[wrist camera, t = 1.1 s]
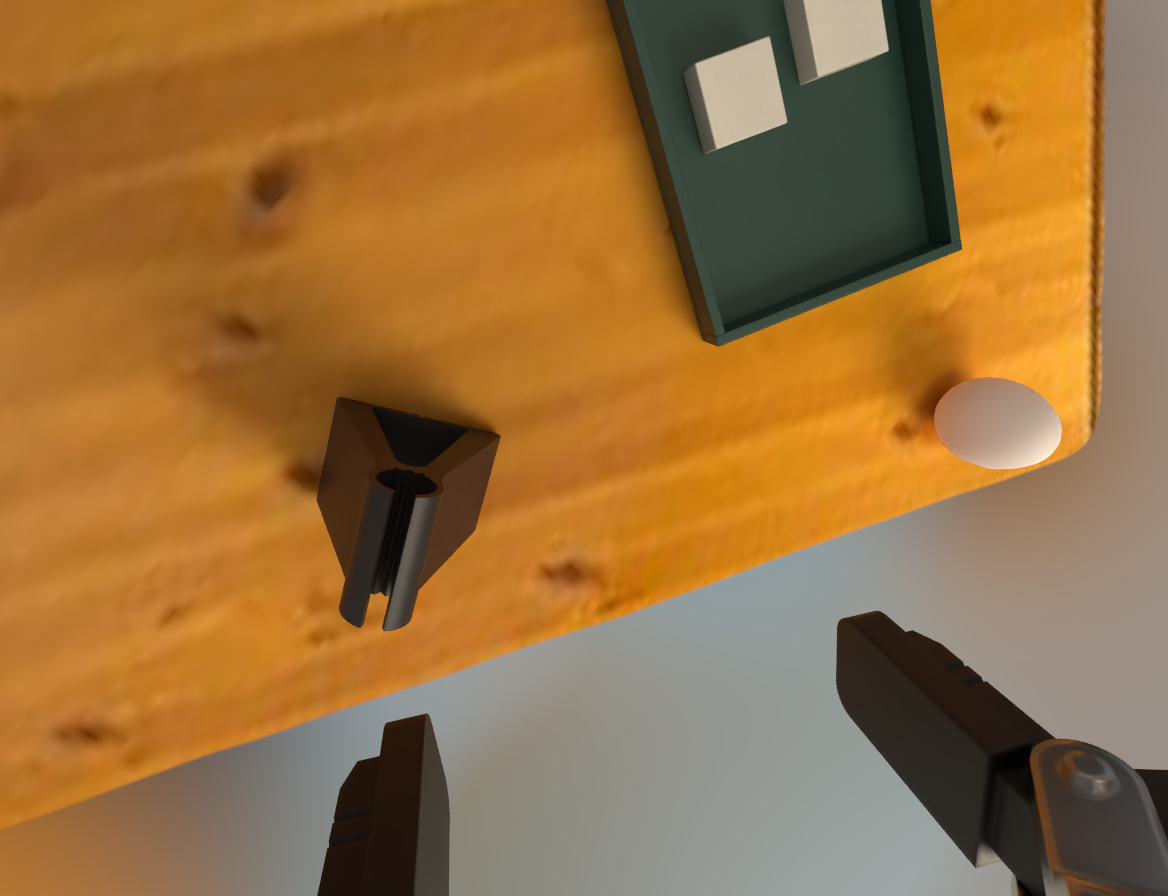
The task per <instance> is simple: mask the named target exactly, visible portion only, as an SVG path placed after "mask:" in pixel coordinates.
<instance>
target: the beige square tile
mask: <svg viewBox="0 0 1168 896" xmlns="http://www.w3.org/2000/svg"><path fill="white" fill-rule="evenodd" d="M683 75H684V79H685V83H686V87H687V91H688V95H689V98H690V102H691V106H692V110H693V114H694V118H695V122H696V126H697V130H698V134H699V137H700V141H701V145H702V149H703V153H704V154H706V153H709V152H712V151H714V150H717V149H720V148H722V147H725V146H728V145H730V144H733V143H736V142H738V141H741V140H743V139H746V138H749V137H751V136H754V135H757V134H759V133H762V132H765V131H767V130H770V129H773V128H775V127H778V126H780V125H783V124H786V123H787V117H786V113H785V108H784V103H783V98H782V93H781V89H780V84H779V79H778V74H777V69H776V65H775V60H774V55H773V50H772V45H771V41H770V37H769V36H767V37H765V38H762V39H759V40H756V41H754V42H751V43H748V44H745V45H743V46H740V47H737V48H735V49H732V50H729V51H726V52H724V53H721V54H718V55H715V56H713V57H710V58H707V59H705V60H702V61H699V62H696V63H695V64H693V65H692V66H691V67H690V68H688V69H687V70H686V71H685V72H684V73H683Z"/></svg>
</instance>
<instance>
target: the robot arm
mask: <svg viewBox="0 0 1168 896" xmlns="http://www.w3.org/2000/svg"><path fill="white" fill-rule="evenodd" d="M836 669H837V670H836V684H837V690H838V694H839V697H840V700H841V702H842V704H843V707H844V709H845V710H846V712H847V713H848V715H849V716H850V717H851V719H852V720H853V721H854V722H855V723H856V725H857V726H858V727H859V728H860V730H861V731H862V732H863V733H864V734H865V736H866V737H867V738H868V739H869V740H870V741H871V743H872V744H873V745H874V746H875V748H876V749H877V750H878V751H879V752H880V754H881V755H882V756H883V757H884V758H885V760H886V761H887V762H888V763H889V764H890V766H891V767H892V768H893V769H894V770H895V772H896V773H897V774H898V775H899V776H900V778H901V779H902V780H903V781H904V783H905V784H906V785H907V786H908V787H909V788H910V790H911V791H912V792H913V793H914V794H915V796H916V797H917V798H918V799H919V800H920V802H921V803H922V804H923V805H924V807H925V808H926V809H927V810H928V811H929V812H930V814H931V815H932V816H933V817H934V819H935V820H936V821H937V822H938V823H939V825H940V826H941V827H942V828H943V830H945V832H946V833H947V834H948V835H949V837H950V838H951V839H952V840H953V842H954V843H955V844H956V845H957V846H958V848H959V849H960V850H961V851H962V852H963V853H964V855H965V856H966V857H967V858H968V860H969V861H970V862H971V863H972V864H973V866H974V867H975V868H978V867H982V866H985V865H988V864H991V863H995V862H998V861H1001V860H1002V861H1003V862H1004V863H1005V865H1006V866H1007V867H1008V868H1009V869H1010V870H1011V871H1012V872H1013V874H1012V881H1011V890H1012V896H1168V770H1148V769H1147V770H1146V769H1145V770H1144V769H1133V768H1132V767H1130V766H1129V765H1128V764H1127V763H1126V762H1124V761H1123V760H1121V759H1120V758H1118V757H1117V756H1115V755H1113V754H1112V753H1109V752H1108V751H1106V750H1103V749H1101V748H1099V747H1097V746H1094V745H1091V744H1088V743H1085V742H1081V741H1076V740H1070V739H1056V738H1054V737H1053V736H1052V735H1051V734H1049V733H1048V732H1047V731H1046V730H1044V729H1043V728H1042V727H1041V726H1040V725H1039V724H1037V723H1036V722H1035V721H1034V720H1032V719H1031V718H1030V717H1029V716H1028V715H1026V714H1025V713H1024V712H1023V711H1022V710H1020V709H1019V708H1018V707H1017V706H1015V705H1014V704H1013V703H1012V702H1011V701H1010V700H1008V699H1007V698H1006V697H1005V696H1003V695H1002V694H1001V693H1000V692H999V691H997V690H996V689H995V688H994V687H993V686H991V685H990V684H989V683H988V682H986V681H985V682H983V680H982V678H981V676H979V675H978V674H977V673H976V672H974V671H973V670H972V669H971V668H970V667H969V666H964V664H963V662H962V661H961V660H960V659H959V658H958V657H956V656H955V655H954V654H953V653H951V652H950V651H949V650H948V649H947V648H946V647H944V646H943V645H942V644H940V643H938V642H936V641H934V640H932V639H930V638H928V637H925V636H923V635H921V634H919V633H917V632H915V631H908V632H905V631H904V630H903V629H902V628H900V627H899V626H898V625H897V624H896V623H894V622H893V621H892V620H891V619H890V618H889V617H887V615H885V614H884V613H882V612H880V611H873V612H868V613H864V614H860V615H856V616H851V617H847V618H843V619H841V620H840V621H839V623H838V626H837V668H836ZM449 826H450V813H449V798H448V791H447V784H446V778H445V774H444V770H443V766H442V762H441V758H440V754H439V750H438V746H437V742H436V739H435V734H434V731H433V726H432V723H431V719H430V716H429V715H428V714H423V715H418V716H414V717H409V718H405V719H401V720H397V721H392V722H388V723H386V724H385V727H384V731H383V738H382V745H381V751H380V756H378V757H374V758H370V759H365V760H361V761H358V762H357V763H356V765H355V766H354V768H353V769H352V771H351V772H350V774H349V776H348V777H347V779H346V780H345V782H344V783H343V785H342V786H341V788H340V792H339V796H338V801H337V805H336V811H335V815H334V823H333V825H332V830H331V834H330V838H329V848H327V853H326V858H325V862H324V867H323V871H322V876H321V881H320V886H319V890H318V895H317V896H449V828H450V827H449Z"/></svg>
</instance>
